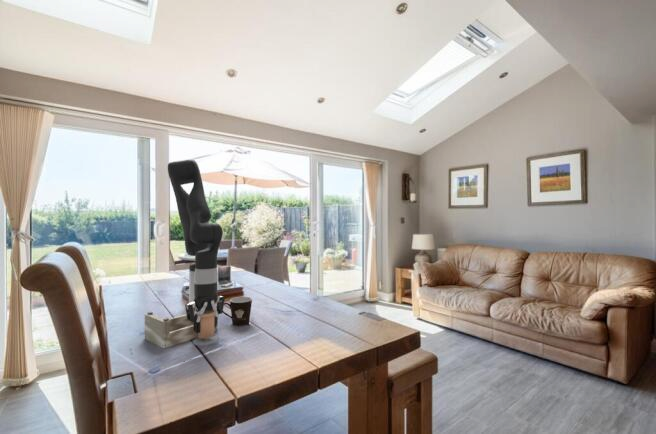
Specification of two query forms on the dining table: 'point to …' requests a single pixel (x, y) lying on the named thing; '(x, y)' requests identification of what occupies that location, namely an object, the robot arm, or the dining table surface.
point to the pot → (207, 324)
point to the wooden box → (169, 330)
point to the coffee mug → (240, 310)
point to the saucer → (205, 340)
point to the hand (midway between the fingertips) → (205, 329)
